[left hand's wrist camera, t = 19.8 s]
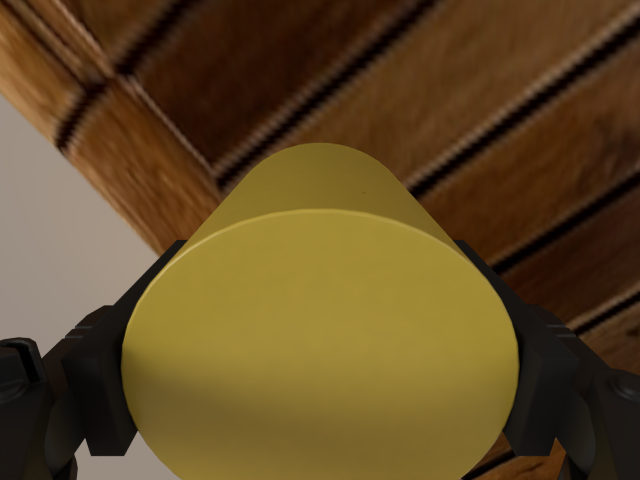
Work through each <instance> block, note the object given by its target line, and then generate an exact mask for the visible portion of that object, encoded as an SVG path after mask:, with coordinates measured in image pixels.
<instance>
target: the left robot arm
mask: <svg viewBox="0 0 640 480" xmlns="http://www.w3.org/2000/svg"><path fill="white" fill-rule="evenodd" d="M187 241H188V240H176V241H175V242H174V244H173V245H172V246H171V247H170V248H169V249H168V250H167V251H166V252H165V253H164V254H163V255H162V256H161V257H160V258H159V259H158V260H157V261H156V262H155V263H154V264H153V265H152V266H151V267H150V268H149V269H148V270H147V271H146V272H145V273H144V274H143V275H142V276H141V277H140V278H139V279H138V280H137V282H136V283H135V284H134V285H133V286H132V287H131V288H130V289H129V290H128V291H127V292H126V293H125V294H124V295H123V296H122V297H121V298H120V299H119V300H118V301H117V302H116V303H115V304H114V305H104V306H102V307H101V308H99V309H97V310H95V311H94V312H92V313H90V314H88V315H87V316H86V317H85V318H84V319H83V320H81V321H80V322H79V323H78V324H77V325H76V326H75V329H72V330H71V331H70V332H69V333H68V334H67V335H66V336H65V339H62V340H61V341H59V342H58V343H57V344H56V345H55V346H54V347H53V348H52V349H51V350H50V351H49V352H48V353H47V354H46V355H45V356H44V357H43V358H42V359H41V356H40V353H39V350H38V347H37V344H36V342H35V341H33V340H32V339H30V338H21V337H18V338H10V339H4V340H1V341H0V480H76V479H77V471H78V467H77V461H76V458H75V455H74V453H75V452H76V450H77V449H78V447H79V446H80V444H81V443H82V442H83V440H84V439H86V442H87V445H88V448H89V451H90V454H91V456H124V455H125V453H126V452H127V450H128V448H129V446H130V444H131V442H132V440H133V439H134V437H135V435H136V433H137V431H138V429H137V428H136V426H135V424H134V421H133V419H132V417H131V414H130V412H129V410H128V407H127V403H126V399H125V396H124V392H123V387H122V376H121V358H122V346H123V341H124V337H125V333H126V329H127V325H128V322H129V320H130V318H131V316H132V313H133V311H134V309H135V307H136V304H137V302H138V301H139V299H140V298H141V296H142V295H143V293H144V292H145V290H146V289H147V287H148V286H149V284H150V282H151V281H152V280H153V279H154V278H155V277H156V276H157V275H158V273H159V272H160V271H161V270H162V269H163V268H164V267H165V266H166V265H167V263H168V262H169V261H170V260H171V259H172V258H173V257H174V256H175V254H176V253H177V252H178V251H179V250H180V249H181V248H182V247H183V246H184V244H185V243H186V242H187ZM452 241H453V242H454V243H455V244H456V245H457V246H458V247H459V248H460V250H461V251H462V252H463V253H464V254H465V255H466V256H467V257H468V258H469V260H470V261H471V262H472V263H473V264H474V265H475V266H476V267H477V268H478V270H479V271H480V272H481V273H482V274H483V275H484V276H485V277H486V279H487V280H488V281H489V282H490V284H491V285H492V287H493V288H494V290H495V291H496V293H497V294H498V296H499V297H500V298H501V300H502V302H503V304H504V306H505V308H506V310H507V313H508V315H509V317H510V319H511V321H512V325H513V329H514V332H515V336H516V340H517V345H518V355H519V365H520V366H519V379H518V388H517V392H516V397H515V401H514V405H513V408H512V410H511V413H510V415H509V417H508V420H507V422H506V425H505V426H504V428H503V430H502V431H503V433H504V434H505V436H506V438H507V440H508V442H509V444H510V446H511V447H512V449H513V451H514V453H515V455H516V456H549V455H550V452H551V449H552V446H553V443H554V440H555V436H556V438H557V439H558V441H559V442H560V444H561V445H562V447H563V448H564V449H565V451H566V455H565V458H564V461H563V464H562V467H561V470H560V473H559V476H558V479H557V480H640V376H639V375H636V374H633V373H630V372H627V371H625V370H619V369H612V368H610V367H609V366H608V365H607V364H606V363H605V362H604V361H603V360H602V359H601V358H600V357H599V356H597V355H596V354H595V353H594V352H593V351H592V350H591V349H590V348H589V347H588V346H587V345H586V344H585V343H584V342H583V341H582V340H581V339H580V338H578V337H576V335H575V334H574V333H573V332H572V331H571V330H570V329H569V328H566V325H565V324H564V323H563V322H562V321H561V320H559V319H558V318H557V317H556V316H555V315H554V314H553V313H551V312H549V311H547V310H546V309H544V308H542V307H540V306H539V305H537V304H525V303H524V302H523V301H522V300H521V299H520V298H519V297H518V296H517V295H516V294H515V293H514V292H513V290H512V289H511V288H510V287H509V286H508V285H507V284H506V283H505V282H504V281H503V280H502V279H501V278H500V277H499V276H498V275H497V274H496V273H495V272H494V271H493V270H492V269H491V268H490V267H489V266H488V265H487V264H486V263H485V262H484V261H483V260H482V259H481V258H480V257H479V256H478V255H477V254H476V253H475V251H474V250H473V249H472V248H471V247H470V246H469V245H468V244H467V243H466V242H465V241H464V240H452Z"/></svg>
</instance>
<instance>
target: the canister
mask: <svg viewBox="0 0 640 480" xmlns="http://www.w3.org/2000/svg"><path fill="white" fill-rule="evenodd" d="M519 366H520V365H519V355H518V345H517V340H516V336H515V332H514V329H513V325H512V321H511V319H510V317H509V315H508V313H507V310H506V308H505V306H504V304H503V302H502V300H501V298H500V297H499V296H498V294H497V293H496V291H495V290H494V288H493V287H492V285H491V284H490V282H489V281H488V280H487V279H486V277H485V276H484V275H483V274H482V273H481V272H480V271H479V270H478V268H477V267H476V266H475V265H474V264H473V263H472V262H471V261H470V260H469V258H468V257H467V256H466V255H465V254H464V253H463V252H462V251H461V250H460V248H459V247H458V246H457V245H456V244H455V243H454V242H453V241H452V240H451V238H450V237H449V236H448V235H447V234H446V233H445V232H444V231H443V229H442V228H441V227H440V226H439V225H438V224H437V223H436V222H435V221H434V219H433V218H432V217H431V216H430V215H429V214H428V213H427V212H426V211H425V209H424V208H423V207H422V206H421V205H420V204H419V203H418V202H417V201H416V199H415V198H414V197H413V196H412V195H411V194H410V193H409V192H408V190H407V189H406V188H405V187H404V186H403V185H402V184H401V183H400V182H399V180H398V179H397V178H396V177H395V176H394V175H393V174H392V173H391V172H390V171H389V170H388V169H387V168H386V167H385V166H384V165H382V164H381V163H380V162H379V161H377V160H376V159H374V158H372V157H371V156H369V155H367V154H366V153H363V152H361V151H358V150H356V149H354V148H350V147H347V146H343V145H338V144H331V143H309V144H302V145H297V146H294V147H290V148H287V149H284V150H282V151H279V152H277V153H275V154H273V155H271V156H270V157H268V158H266V159H265V160H263V161H262V162H260V163H259V164H258V165H257V166H255V167H254V168H253V169H252V170H251V171H250V172H249V173H248V174H247V175H246V176H245V177H244V179H243V180H242V181H241V182H240V183H239V184H238V185H237V186H236V188H235V189H234V190H233V191H232V192H231V193H230V194H229V195H228V196H227V198H226V199H225V200H224V201H223V202H222V203H221V204H220V205H219V206H218V208H217V209H216V210H215V211H214V212H213V213H212V214H211V215H210V217H209V218H208V219H207V220H206V221H205V222H204V223H203V224H202V225H201V227H200V228H199V229H198V230H197V231H196V232H195V233H194V234H193V236H192V237H191V238H190V239H189V240H188V241H187V242H186V243H185V244H184V246H183V247H182V248H181V249H180V250H179V251H178V252H177V253H176V254H175V256H174V257H173V258H172V259H171V260H170V261H169V262H168V263H167V265H166V266H165V267H164V268H163V269H162V270H161V271H160V272H159V273H158V275H157V276H156V277H155V278H154V279H153V280H152V281H151V282H150V284H149V286H148V287H147V289H146V290H145V292H144V293H143V295H142V296H141V298H140V299H139V301H138V302H137V304H136V307H135V309H134V311H133V313H132V316H131V318H130V320H129V322H128V325H127V329H126V333H125V337H124V341H123V346H122V358H121V376H122V387H123V392H124V396H125V399H126V403H127V407H128V410H129V412H130V414H131V417H132V419H133V421H134V424H135V426H136V428H137V429H138V431H139V433H140V434H141V436H142V438H143V439H144V441H145V442H146V444H147V445H148V446H149V448H150V449H151V450H152V451H153V453H154V454H155V455H156V456H157V457H158V459H159V460H160V461H161V462H162V463H163V464H164V465H165V466H166V467H168V468H169V469H170V470H171V471H172V472H173V473H174V474H175V475H176V476H178V477H179V478H180V479H182V480H459V479H460V478H461V477H462V476H464V475H465V474H466V473H468V472H469V471H470V470H471V469H472V468H473V467H474V466H475V465H476V464H477V463H478V462H479V461H480V460H481V459H482V458H483V457H484V455H485V454H486V453H487V452H488V450H489V449H490V448H491V447H492V445H493V444H494V443H495V441H496V440H497V438H498V436H499V435H500V433H501V431H502V430H503V428H504V426H505V425H506V422H507V420H508V417H509V415H510V413H511V410H512V408H513V405H514V401H515V397H516V392H517V388H518V379H519Z"/></svg>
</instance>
